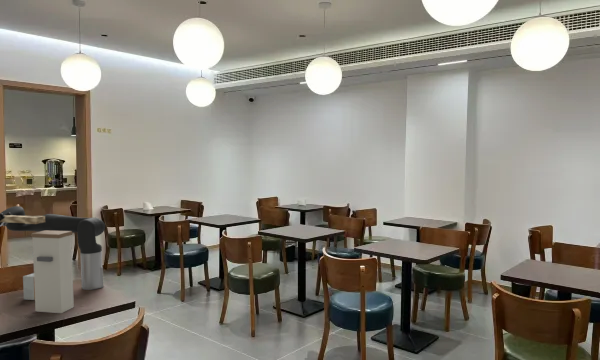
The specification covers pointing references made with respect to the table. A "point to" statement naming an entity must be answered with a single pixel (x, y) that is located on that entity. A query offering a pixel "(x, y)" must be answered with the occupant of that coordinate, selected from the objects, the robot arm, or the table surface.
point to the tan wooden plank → (23, 219)
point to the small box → (29, 287)
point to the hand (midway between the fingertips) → (7, 214)
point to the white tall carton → (53, 271)
